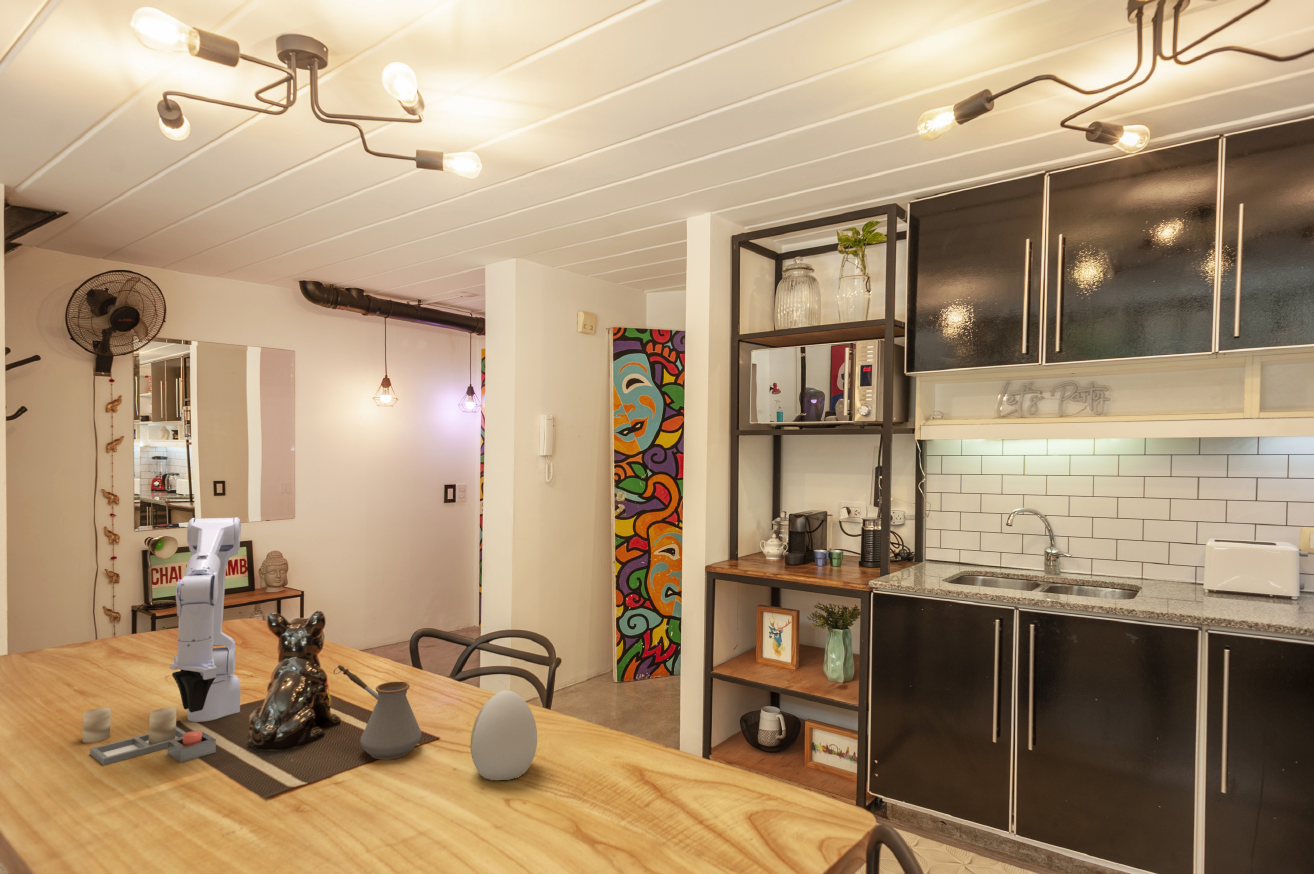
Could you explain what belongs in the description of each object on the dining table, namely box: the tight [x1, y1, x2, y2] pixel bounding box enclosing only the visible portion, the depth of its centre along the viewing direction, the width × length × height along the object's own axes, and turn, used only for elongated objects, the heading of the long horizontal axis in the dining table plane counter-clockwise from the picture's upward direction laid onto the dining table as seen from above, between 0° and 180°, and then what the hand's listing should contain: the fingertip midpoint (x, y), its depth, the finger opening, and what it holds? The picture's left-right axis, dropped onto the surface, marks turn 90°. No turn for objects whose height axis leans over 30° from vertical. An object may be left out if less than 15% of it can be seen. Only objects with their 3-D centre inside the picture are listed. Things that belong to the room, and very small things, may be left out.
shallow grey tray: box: [89, 726, 187, 766], centre depth 140 cm, size 14×8×2 cm, turn 143°
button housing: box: [167, 731, 217, 763], centre depth 138 cm, size 6×6×4 cm
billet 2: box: [148, 707, 177, 745], centre depth 143 cm, size 4×4×6 cm
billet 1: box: [81, 707, 112, 744], centre depth 144 cm, size 4×4×6 cm
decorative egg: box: [470, 690, 538, 781], centre depth 135 cm, size 12×12×15 cm
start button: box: [183, 730, 203, 746], centre depth 138 cm, size 3×3×2 cm
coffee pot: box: [333, 664, 422, 760], centre depth 146 cm, size 21×12×15 cm, turn 65°
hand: (193, 709), depth 138 cm, fingers open, 2 cm apart
